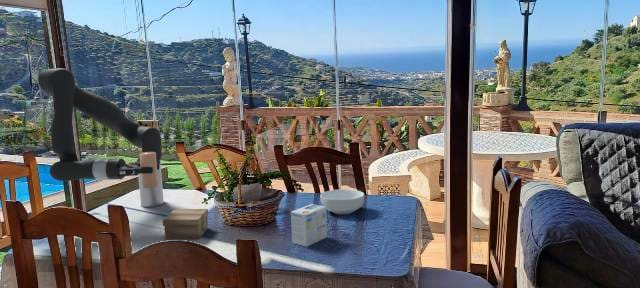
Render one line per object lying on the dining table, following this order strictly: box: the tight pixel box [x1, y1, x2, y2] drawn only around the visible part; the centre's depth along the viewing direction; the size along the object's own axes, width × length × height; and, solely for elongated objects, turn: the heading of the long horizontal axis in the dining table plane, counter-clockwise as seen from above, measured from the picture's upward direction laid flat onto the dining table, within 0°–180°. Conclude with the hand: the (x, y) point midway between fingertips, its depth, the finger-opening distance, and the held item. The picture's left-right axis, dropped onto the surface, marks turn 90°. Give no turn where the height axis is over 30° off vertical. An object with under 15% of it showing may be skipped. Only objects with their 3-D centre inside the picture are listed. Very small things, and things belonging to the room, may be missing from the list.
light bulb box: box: [290, 203, 328, 248], centre depth 157 cm, size 11×7×11 cm, turn 141°
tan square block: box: [162, 208, 209, 241], centre depth 167 cm, size 12×12×7 cm
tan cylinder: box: [138, 152, 158, 188], centre depth 173 cm, size 6×6×12 cm
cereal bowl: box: [319, 188, 365, 215], centre depth 187 cm, size 17×17×7 cm
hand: (155, 168), depth 172 cm, fingers closed on tan cylinder, 5 cm apart
